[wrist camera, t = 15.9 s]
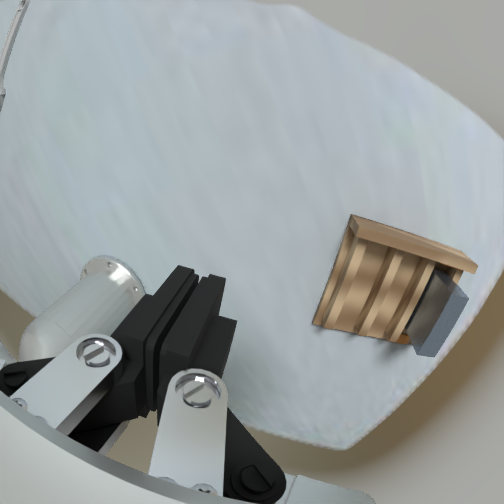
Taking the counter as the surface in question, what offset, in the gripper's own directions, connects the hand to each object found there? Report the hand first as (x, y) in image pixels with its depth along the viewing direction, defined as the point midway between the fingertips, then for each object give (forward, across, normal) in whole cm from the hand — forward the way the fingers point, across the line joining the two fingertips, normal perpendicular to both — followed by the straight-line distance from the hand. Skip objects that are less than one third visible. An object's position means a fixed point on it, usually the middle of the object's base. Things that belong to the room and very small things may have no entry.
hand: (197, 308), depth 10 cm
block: (+26, -25, +8) cm, 37 cm away
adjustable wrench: (+28, +53, -17) cm, 62 cm away
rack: (+27, -20, +9) cm, 35 cm away
